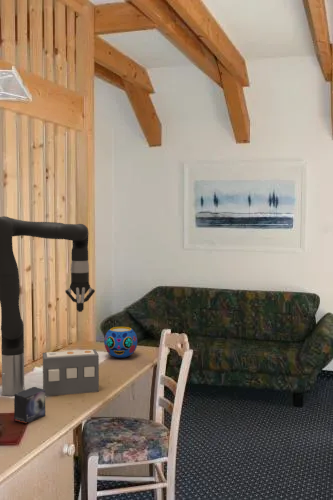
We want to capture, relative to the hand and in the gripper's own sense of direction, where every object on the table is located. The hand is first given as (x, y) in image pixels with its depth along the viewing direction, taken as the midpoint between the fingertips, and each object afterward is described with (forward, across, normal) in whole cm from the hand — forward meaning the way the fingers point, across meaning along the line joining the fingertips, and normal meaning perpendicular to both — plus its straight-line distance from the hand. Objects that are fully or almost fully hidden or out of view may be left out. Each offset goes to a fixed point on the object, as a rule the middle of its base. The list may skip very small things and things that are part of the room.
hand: (80, 311), depth 242 cm
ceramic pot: (+35, +27, +51) cm, 68 cm away
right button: (+28, +4, 0) cm, 28 cm away
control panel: (+35, -4, +3) cm, 35 cm away
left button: (+28, -11, -2) cm, 31 cm away
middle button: (+28, -4, 0) cm, 28 cm away
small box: (+35, -22, -26) cm, 49 cm away
